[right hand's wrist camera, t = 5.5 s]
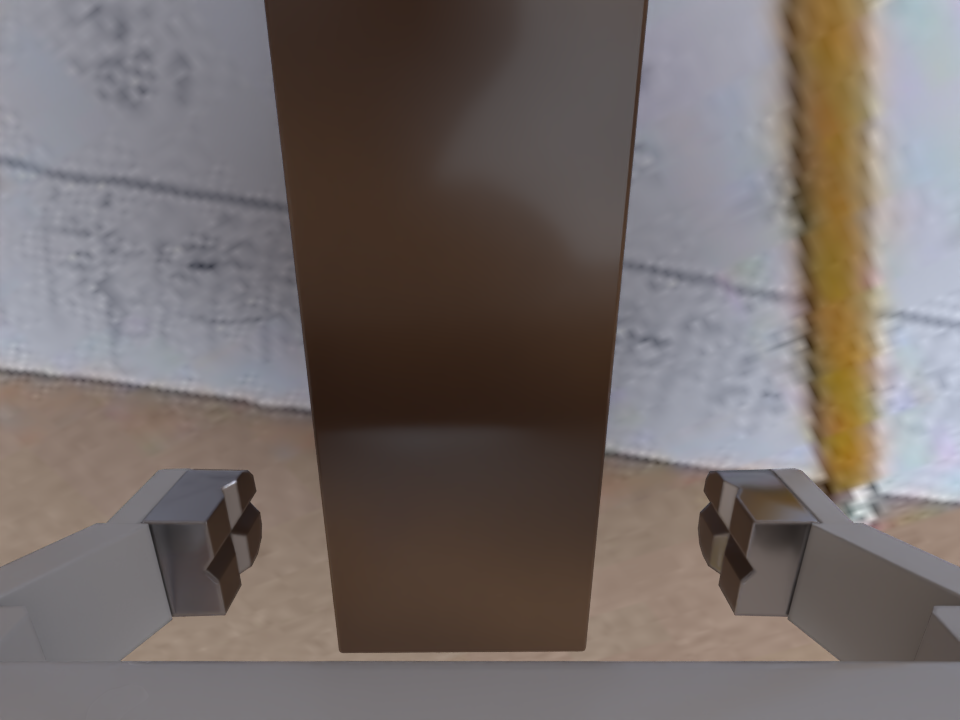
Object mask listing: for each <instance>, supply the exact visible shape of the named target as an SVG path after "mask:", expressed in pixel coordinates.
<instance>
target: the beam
mask: <svg viewBox="0 0 960 720" xmlns="http://www.w3.org/2000/svg"><path fill="white" fill-rule="evenodd" d="M264 3H265V12H266V21H267V29H268V38H269V47H270V55H271V64H272V73H273V82H274V90H275V99H276V108H277V116H278V125H279V134H280V142H281V151H282V160H283V168H284V177H285V186H286V194H287V203H288V212H289V220H290V229H291V238H292V246H293V255H294V264H295V272H296V281H297V290H298V298H299V307H300V316H301V324H302V333H303V342H304V350H305V359H306V368H307V377H308V385H309V394H310V403H311V411H312V420H313V429H314V437H315V446H316V455H317V463H318V472H319V481H320V489H321V498H322V507H323V515H324V524H325V533H326V541H327V550H328V559H329V567H330V576H331V585H332V593H333V602H334V611H335V619H336V628H337V637H338V645H339V651H340V652H341V653H407V652H548V651H584V650H585V648H586V641H587V631H588V620H589V610H590V600H591V589H592V579H593V569H594V558H595V548H596V538H597V527H598V517H599V507H600V496H601V486H602V476H603V465H604V455H605V445H606V434H607V424H608V414H609V403H610V393H611V383H612V372H613V362H614V352H615V341H616V331H617V321H618V310H619V300H620V290H621V279H622V269H623V259H624V248H625V238H626V228H627V217H628V207H629V197H630V186H631V176H632V166H633V155H634V145H635V135H636V124H637V114H638V104H639V93H640V83H641V73H642V62H643V52H644V42H645V31H646V21H647V11H648V0H264Z"/></svg>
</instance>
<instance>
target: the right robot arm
mask: <svg viewBox="0 0 960 720" xmlns="http://www.w3.org/2000/svg"><path fill="white" fill-rule="evenodd" d="M255 493H256V487H255V482H254V477H253V475H252V474H251V473H250V472H249V471H248V470H224V469H163V470H158V471H157V472H156V473H155V474H154V475H153V476H152V477H151V478H150V479H149V481H148V482H147V483H146V484H145V485H144V486H143V487H142V488H141V489H140V490H139V491H138V492H137V493H136V494H135V495H134V496H133V497H132V498H131V499H130V500H129V501H128V502H127V503H126V504H125V505H124V506H123V507H122V508H121V509H120V510H119V511H118V512H117V513H116V514H115V515H114V516H113V517H112V518H111V519H110V520H109V521H108V522H107V523H96V524H94V525H92V526H90V527H87V528H85V529H83V530H81V531H79V532H76V533H74V534H72V535H70V536H68V537H65V538H63V539H61V540H59V541H57V542H54V543H52V544H50V545H48V546H46V547H43V548H41V549H39V550H37V551H35V552H32V553H30V554H28V555H26V556H24V557H21V558H19V559H17V560H15V561H13V562H10V563H8V564H6V565H4V566H2V567H0V720H960V567H958V566H956V565H954V564H952V563H949V562H947V561H945V560H943V559H941V558H938V557H936V556H934V555H932V554H930V553H927V552H925V551H923V550H921V549H919V548H916V547H914V546H912V545H910V544H908V543H905V542H903V541H901V540H899V539H897V538H894V537H892V536H890V535H888V534H886V533H883V532H881V531H879V530H877V529H875V528H872V527H870V526H868V525H866V524H864V523H853V522H852V521H851V520H850V519H849V518H848V517H847V516H846V515H845V514H844V513H843V512H842V511H841V510H840V509H839V508H838V507H837V506H836V505H835V504H834V503H833V502H832V501H831V500H830V499H829V498H828V497H827V496H826V495H825V493H824V492H823V491H822V490H821V489H820V488H819V487H818V486H817V485H816V484H815V483H814V482H813V481H812V480H811V479H810V478H809V477H808V476H807V475H806V474H805V473H804V472H803V471H801V470H798V469H795V468H789V469H766V470H726V471H709V473H708V475H707V478H706V481H705V486H704V493H705V494H706V496H707V498H708V499H709V501H710V503H709V504H708V505H707V506H706V507H705V508H704V509H703V510H702V511H701V512H700V516H699V524H698V535H699V545H700V548H701V551H702V554H703V557H704V559H705V561H706V563H707V565H708V566H709V567H710V568H712V569H713V570H715V571H716V572H718V573H719V574H720V579H719V587H720V589H721V591H722V592H723V594H724V596H725V598H726V600H727V602H728V603H729V605H730V607H731V609H732V611H733V612H734V614H735V615H745V616H781V617H788V620H789V621H791V622H792V623H793V624H794V625H796V626H797V627H798V628H799V629H801V630H802V631H803V632H804V633H806V634H807V635H808V636H809V637H811V638H812V639H813V640H814V641H816V642H817V643H818V644H819V645H821V646H822V647H823V648H824V649H826V650H827V651H828V652H830V653H831V654H832V655H833V656H835V657H836V658H837V659H838V660H840V661H121V660H122V659H123V658H124V657H126V656H127V655H128V654H129V653H131V652H132V651H133V650H134V649H136V648H137V647H138V646H139V645H141V644H142V643H143V642H145V641H146V640H147V639H148V638H150V637H151V636H152V635H153V634H155V633H156V632H157V631H158V630H160V629H161V628H162V627H163V626H165V625H166V624H167V623H168V622H170V621H171V620H172V617H178V616H213V615H225V614H226V613H227V611H228V609H229V607H230V605H231V603H232V602H233V600H234V598H235V596H236V594H237V592H238V591H239V589H240V587H241V579H240V574H241V573H242V572H244V571H245V570H247V569H248V568H250V567H251V566H252V565H253V563H254V561H255V559H256V557H257V555H258V551H259V547H260V543H261V538H262V522H261V516H260V512H259V511H258V510H257V509H256V508H255V507H254V506H253V505H252V504H251V503H250V501H251V499H252V498H253V496H254V494H255Z"/></svg>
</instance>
